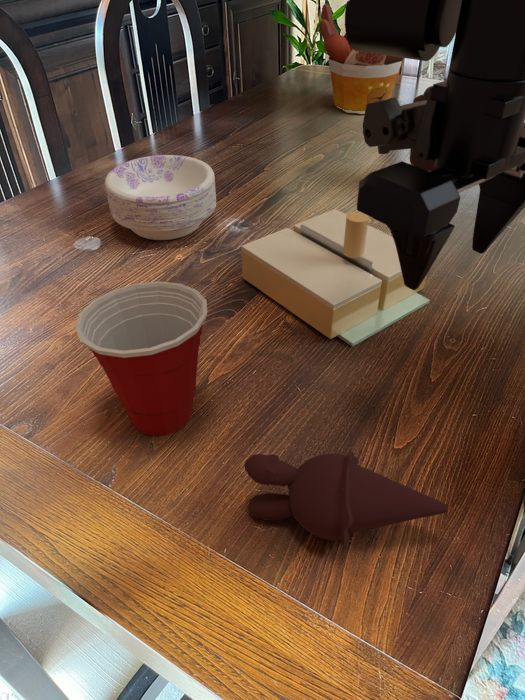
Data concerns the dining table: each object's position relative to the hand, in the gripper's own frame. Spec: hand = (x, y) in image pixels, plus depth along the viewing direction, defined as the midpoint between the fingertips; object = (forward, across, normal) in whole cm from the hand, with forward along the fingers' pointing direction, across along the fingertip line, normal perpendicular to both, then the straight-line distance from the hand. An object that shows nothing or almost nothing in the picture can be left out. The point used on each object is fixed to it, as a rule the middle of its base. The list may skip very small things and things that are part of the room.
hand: (445, 268), depth 48 cm
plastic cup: (+13, +23, -13) cm, 29 cm away
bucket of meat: (+13, -60, -67) cm, 91 cm away
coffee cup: (+13, -38, -29) cm, 50 cm away
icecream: (+13, +18, +6) cm, 23 cm away
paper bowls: (+13, +3, -45) cm, 47 cm away
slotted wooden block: (+13, -5, -18) cm, 23 cm away
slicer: (+12, -5, -18) cm, 22 cm away
